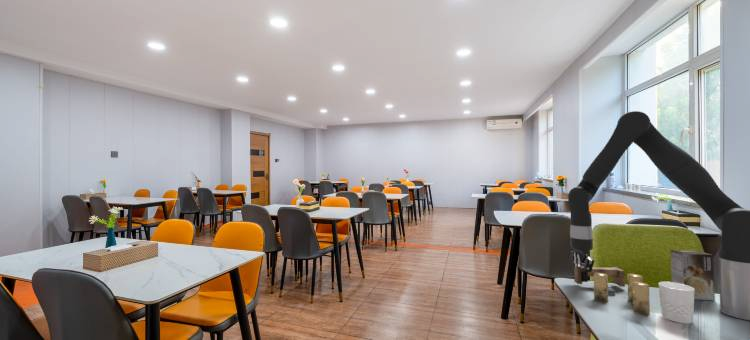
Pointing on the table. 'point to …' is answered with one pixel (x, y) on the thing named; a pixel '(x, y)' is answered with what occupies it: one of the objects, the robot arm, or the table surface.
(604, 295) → the cylinder
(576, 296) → the table surface
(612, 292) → the grey square block
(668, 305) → the white cup
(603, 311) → the table surface
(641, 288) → the cylinder
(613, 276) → the rake
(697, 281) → the coffee box
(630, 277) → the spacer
